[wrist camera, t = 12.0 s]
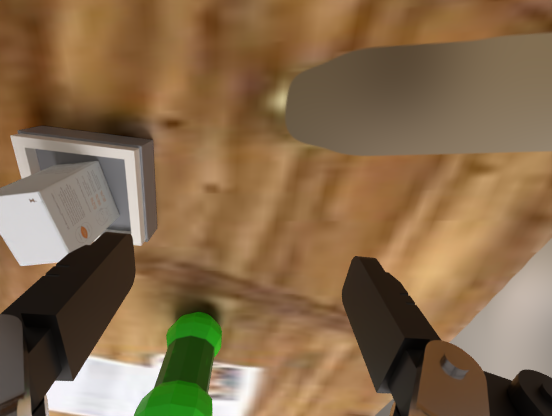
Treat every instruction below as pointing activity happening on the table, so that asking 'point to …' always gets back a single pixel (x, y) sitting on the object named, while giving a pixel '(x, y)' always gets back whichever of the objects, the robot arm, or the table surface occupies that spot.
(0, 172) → the table surface
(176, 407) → the plastic bottle
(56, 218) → the small box
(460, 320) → the table surface
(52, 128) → the grey square tray
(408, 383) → the robot arm
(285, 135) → the table surface
